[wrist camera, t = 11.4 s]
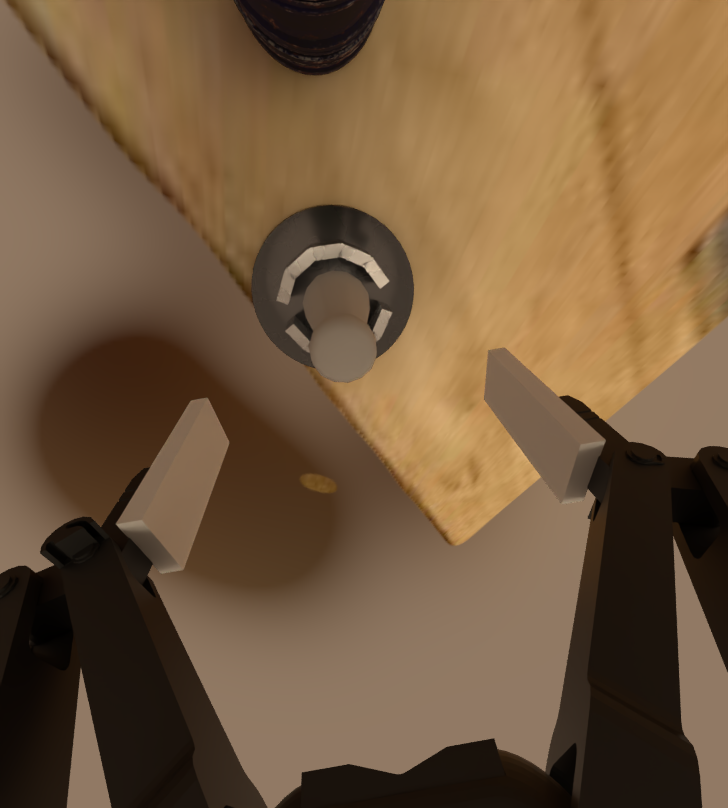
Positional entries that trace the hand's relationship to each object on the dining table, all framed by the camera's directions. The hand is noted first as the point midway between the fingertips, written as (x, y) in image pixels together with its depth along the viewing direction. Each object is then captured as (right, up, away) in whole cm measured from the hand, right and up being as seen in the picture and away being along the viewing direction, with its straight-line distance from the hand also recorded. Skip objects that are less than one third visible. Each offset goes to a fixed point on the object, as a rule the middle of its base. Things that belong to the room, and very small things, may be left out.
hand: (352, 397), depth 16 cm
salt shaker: (-2, +10, +15) cm, 18 cm away
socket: (-2, +10, +16) cm, 19 cm away
